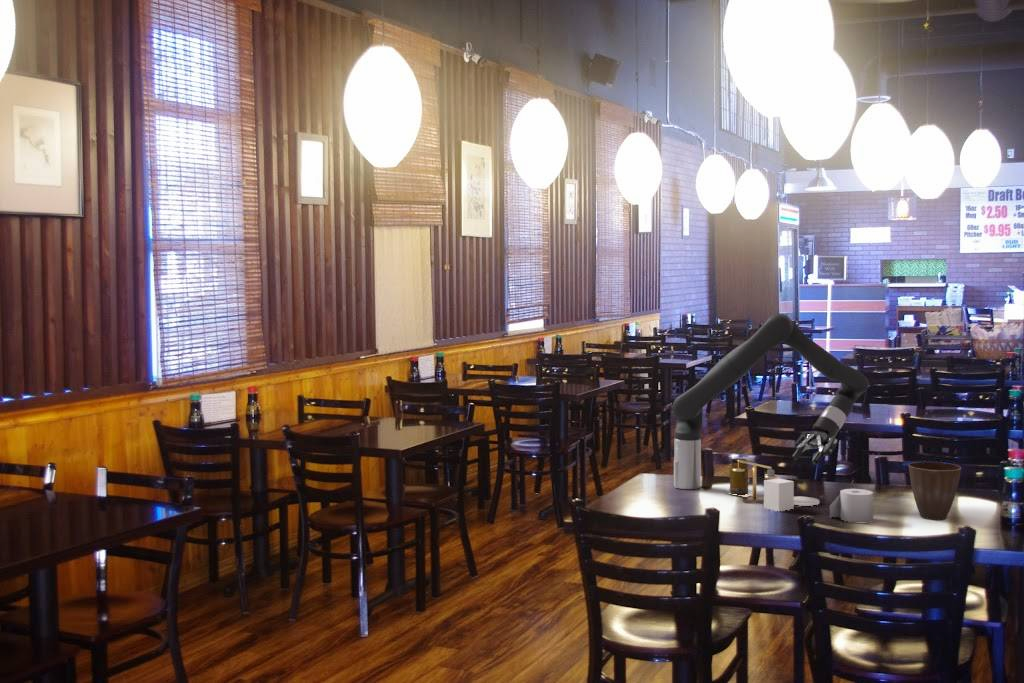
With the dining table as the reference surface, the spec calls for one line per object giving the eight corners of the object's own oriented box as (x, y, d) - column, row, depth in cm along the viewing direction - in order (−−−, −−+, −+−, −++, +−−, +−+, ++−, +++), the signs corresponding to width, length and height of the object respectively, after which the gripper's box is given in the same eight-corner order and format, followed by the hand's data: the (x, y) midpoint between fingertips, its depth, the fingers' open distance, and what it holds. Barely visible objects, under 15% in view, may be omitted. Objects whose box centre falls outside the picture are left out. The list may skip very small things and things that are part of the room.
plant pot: (968, 517, 317) (969, 465, 316) (947, 525, 307) (948, 472, 306) (920, 509, 328) (921, 459, 327) (899, 517, 318) (899, 465, 317)
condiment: (737, 491, 360) (737, 457, 359) (757, 495, 353) (757, 460, 352) (724, 494, 355) (724, 459, 354) (744, 498, 348) (744, 462, 348)
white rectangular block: (778, 511, 327) (778, 483, 326) (763, 508, 332) (764, 480, 332) (793, 509, 330) (793, 481, 330) (778, 505, 336) (778, 478, 335)
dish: (787, 506, 334) (787, 502, 334) (781, 499, 345) (781, 495, 345) (822, 506, 334) (822, 502, 333) (815, 499, 344) (815, 495, 344)
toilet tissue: (823, 517, 318) (823, 490, 318) (863, 515, 321) (863, 488, 320) (837, 524, 310) (837, 496, 309) (878, 522, 312) (878, 494, 311)
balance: (733, 502, 341) (733, 461, 340) (731, 499, 346) (731, 458, 345) (778, 503, 340) (778, 461, 339) (775, 499, 345) (775, 458, 344)
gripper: (807, 413, 346) (782, 450, 341) (840, 418, 334) (815, 456, 329) (819, 427, 349) (793, 464, 344) (852, 433, 337) (826, 471, 332)
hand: (804, 460), depth 336 cm, fingers open, 8 cm apart
